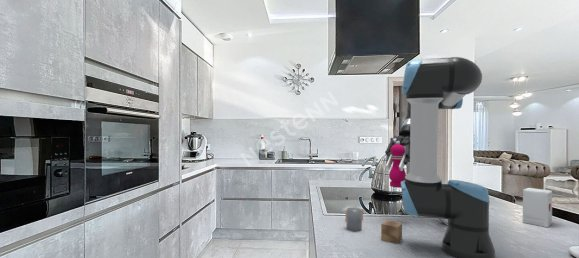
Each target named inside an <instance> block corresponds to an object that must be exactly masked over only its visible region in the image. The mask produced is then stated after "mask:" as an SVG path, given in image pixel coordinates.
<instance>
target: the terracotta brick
mask: <svg viewBox="0 0 579 258" xmlns="http://www.w3.org/2000/svg"><path fill="white" fill-rule="evenodd" d="M354 208H357V207H354ZM358 208H359V207H358ZM359 209H361V210H362V221H364V209H363V208H359ZM345 221H346V223H347V209H346V210H345ZM345 221H344V222H345Z"/></svg>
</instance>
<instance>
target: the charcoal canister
mask: <svg viewBox="0 0 579 258" xmlns="http://www.w3.org/2000/svg"><path fill="white" fill-rule="evenodd" d="M361 209H362V208H360V209H359V207H356V208H355V207H347V208H346V210H347V222H346V230H347V231H350V232H355V233H356V232H361V231H362V227H363V225H362V224H363V222H362V221H363V220H362V210H361Z"/></svg>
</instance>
